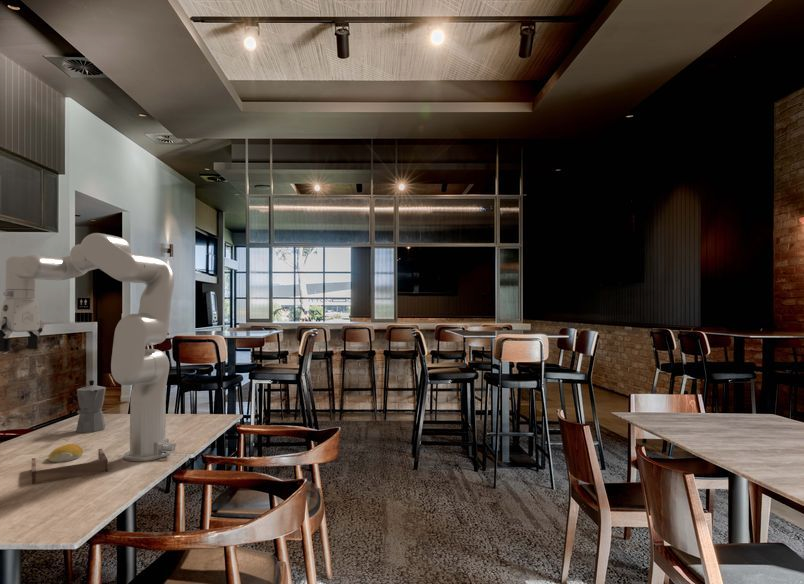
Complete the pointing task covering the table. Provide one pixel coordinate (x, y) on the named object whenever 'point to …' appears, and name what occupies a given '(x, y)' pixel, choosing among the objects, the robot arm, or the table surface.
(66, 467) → the walnut open-ended frame
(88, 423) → the coffeepot
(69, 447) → the bread roll
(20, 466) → the table surface
